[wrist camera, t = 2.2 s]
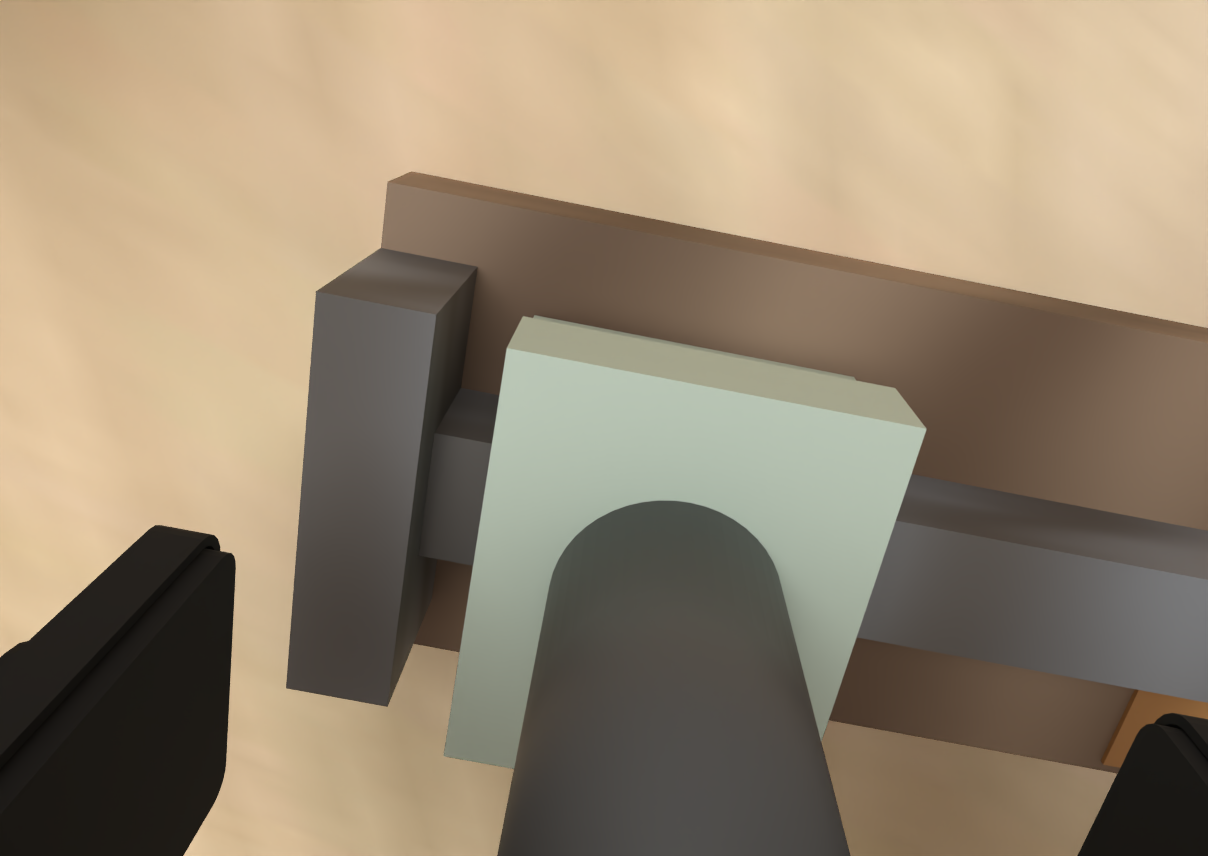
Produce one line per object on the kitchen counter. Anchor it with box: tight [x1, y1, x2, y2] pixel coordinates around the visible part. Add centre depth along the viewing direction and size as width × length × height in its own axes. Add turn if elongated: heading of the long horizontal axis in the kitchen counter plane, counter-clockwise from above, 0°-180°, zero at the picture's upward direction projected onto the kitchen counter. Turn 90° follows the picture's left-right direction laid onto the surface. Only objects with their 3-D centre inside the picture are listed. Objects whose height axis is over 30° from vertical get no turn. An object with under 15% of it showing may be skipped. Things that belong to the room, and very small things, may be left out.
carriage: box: [444, 315, 926, 856], centre depth 11 cm, size 5×6×10 cm
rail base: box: [286, 172, 1208, 773], centre depth 15 cm, size 20×8×4 cm, turn 79°
